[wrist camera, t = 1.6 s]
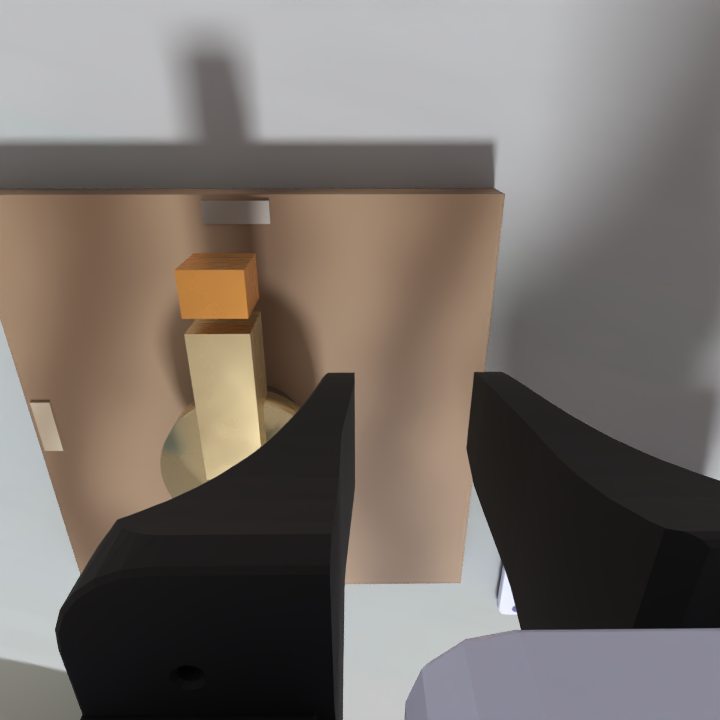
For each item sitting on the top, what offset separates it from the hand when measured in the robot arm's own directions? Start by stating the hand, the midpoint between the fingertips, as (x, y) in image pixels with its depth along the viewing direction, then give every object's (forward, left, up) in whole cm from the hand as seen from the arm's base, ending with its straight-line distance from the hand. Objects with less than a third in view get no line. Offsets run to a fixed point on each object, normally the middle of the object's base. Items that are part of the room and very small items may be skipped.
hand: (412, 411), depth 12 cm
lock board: (+6, +6, -10) cm, 13 cm away
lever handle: (+5, +4, -7) cm, 9 cm away
